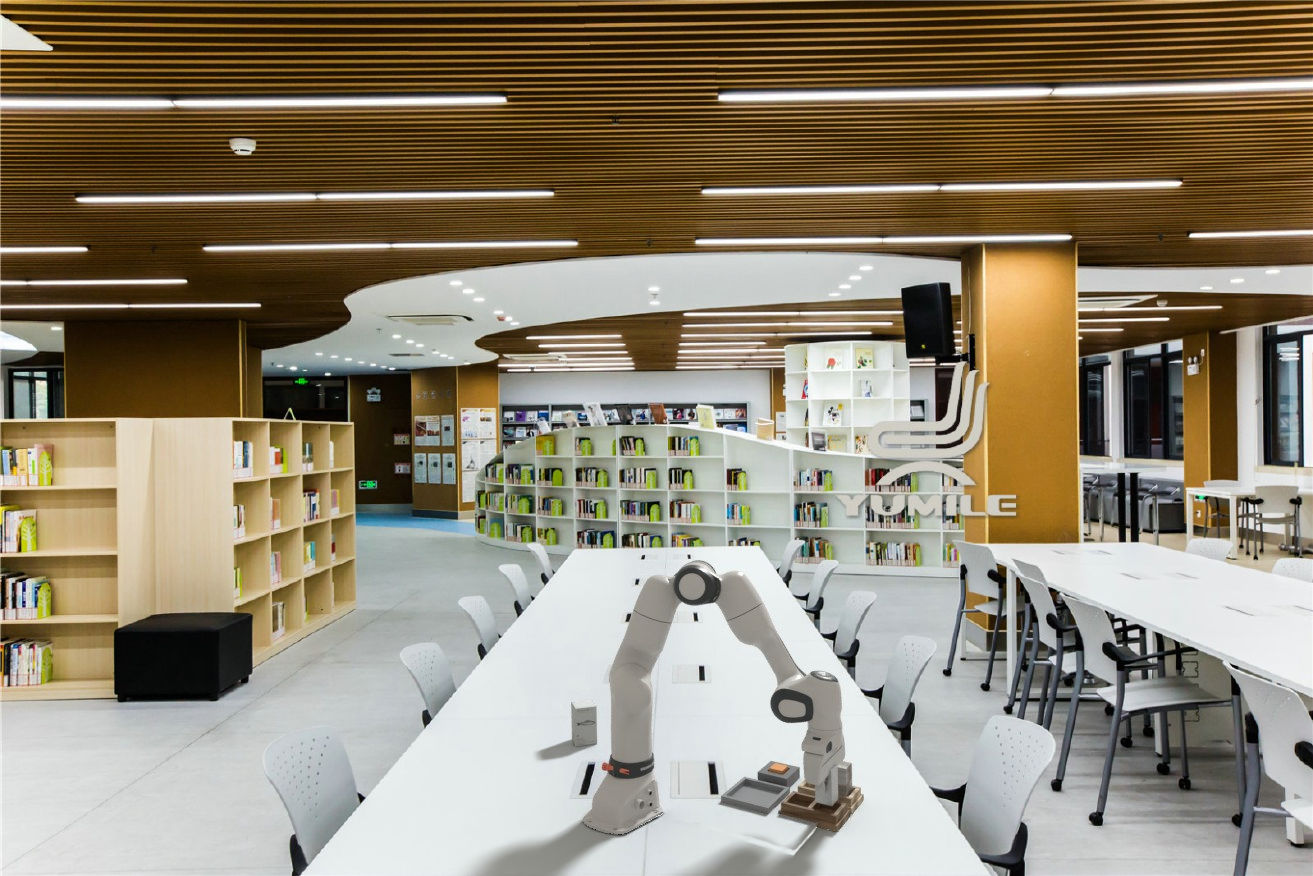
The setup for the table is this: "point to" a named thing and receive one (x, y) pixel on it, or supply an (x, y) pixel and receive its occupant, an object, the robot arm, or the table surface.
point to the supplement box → (584, 722)
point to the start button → (778, 768)
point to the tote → (755, 795)
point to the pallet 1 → (841, 798)
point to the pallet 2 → (815, 811)
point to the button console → (779, 775)
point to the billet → (829, 788)
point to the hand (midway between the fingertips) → (826, 788)
